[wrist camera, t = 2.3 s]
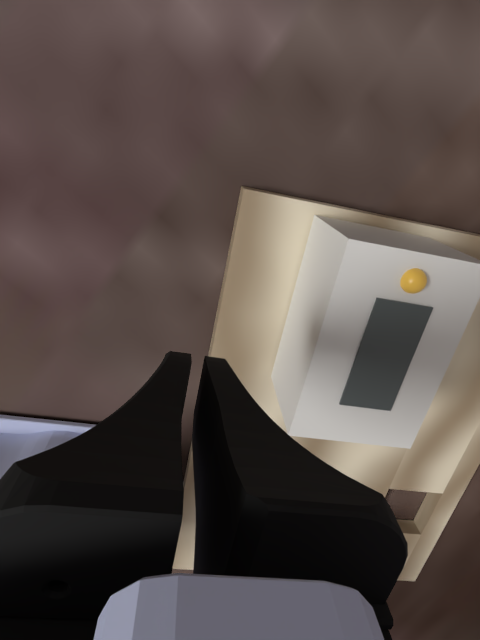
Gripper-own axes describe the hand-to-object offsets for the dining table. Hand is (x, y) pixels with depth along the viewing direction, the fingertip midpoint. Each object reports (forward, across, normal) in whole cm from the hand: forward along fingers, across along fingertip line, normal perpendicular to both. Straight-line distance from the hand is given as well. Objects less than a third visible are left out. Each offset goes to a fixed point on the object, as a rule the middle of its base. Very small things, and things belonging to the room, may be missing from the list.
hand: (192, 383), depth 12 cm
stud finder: (+9, -8, 0) cm, 12 cm away
